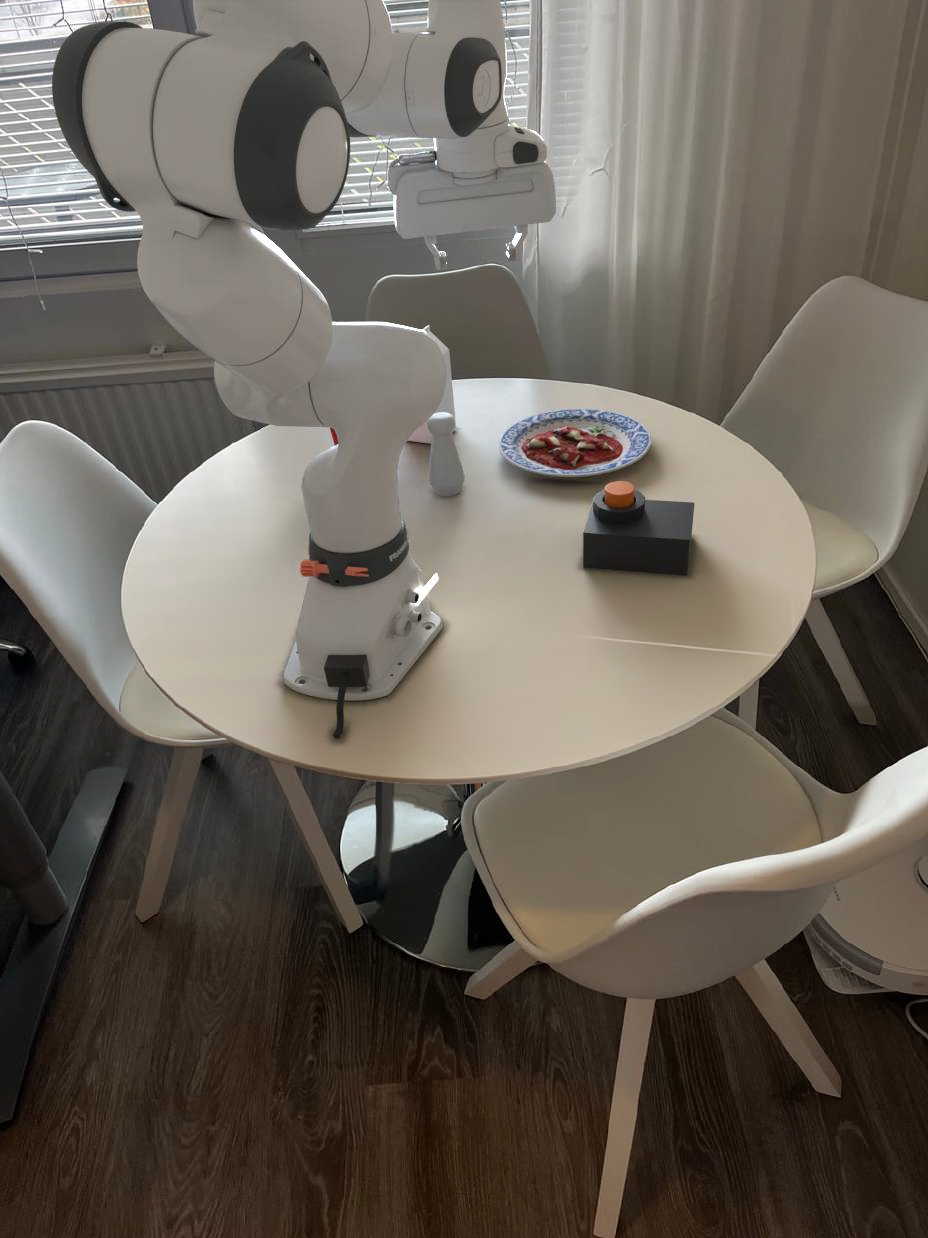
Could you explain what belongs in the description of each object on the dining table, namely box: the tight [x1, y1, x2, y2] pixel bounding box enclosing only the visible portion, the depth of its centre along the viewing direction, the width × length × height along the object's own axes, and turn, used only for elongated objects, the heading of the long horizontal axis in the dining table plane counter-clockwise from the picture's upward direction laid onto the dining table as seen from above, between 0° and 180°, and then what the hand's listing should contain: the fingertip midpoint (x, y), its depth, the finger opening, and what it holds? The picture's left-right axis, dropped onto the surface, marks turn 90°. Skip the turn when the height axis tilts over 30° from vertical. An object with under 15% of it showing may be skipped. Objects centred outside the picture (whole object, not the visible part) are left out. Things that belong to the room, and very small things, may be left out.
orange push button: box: [604, 480, 636, 508], centre depth 120 cm, size 4×4×2 cm
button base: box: [582, 488, 695, 577], centre depth 120 cm, size 14×10×8 cm
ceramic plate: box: [498, 408, 652, 478], centre depth 148 cm, size 26×26×3 cm
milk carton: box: [407, 324, 457, 445], centre depth 154 cm, size 7×7×19 cm
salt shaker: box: [427, 412, 466, 498], centre depth 138 cm, size 6×6×13 cm
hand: (477, 263), depth 113 cm, fingers open, 8 cm apart
